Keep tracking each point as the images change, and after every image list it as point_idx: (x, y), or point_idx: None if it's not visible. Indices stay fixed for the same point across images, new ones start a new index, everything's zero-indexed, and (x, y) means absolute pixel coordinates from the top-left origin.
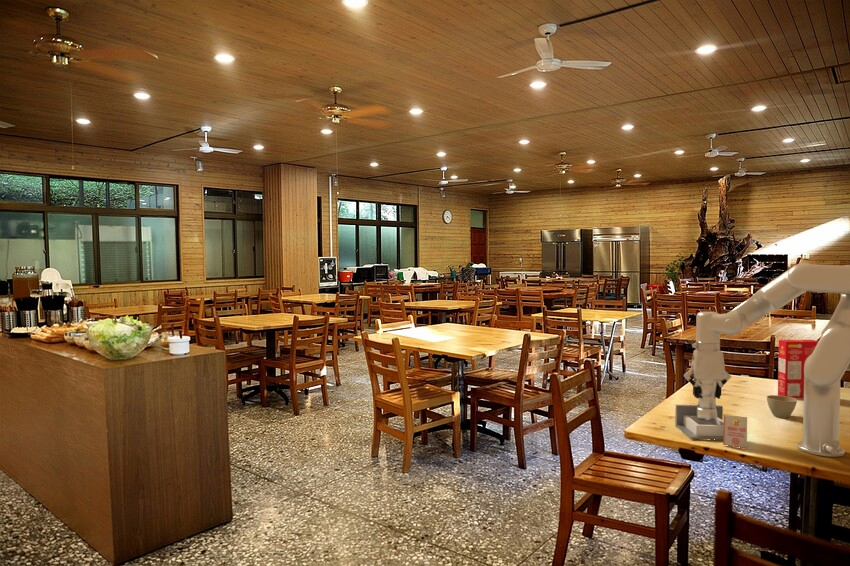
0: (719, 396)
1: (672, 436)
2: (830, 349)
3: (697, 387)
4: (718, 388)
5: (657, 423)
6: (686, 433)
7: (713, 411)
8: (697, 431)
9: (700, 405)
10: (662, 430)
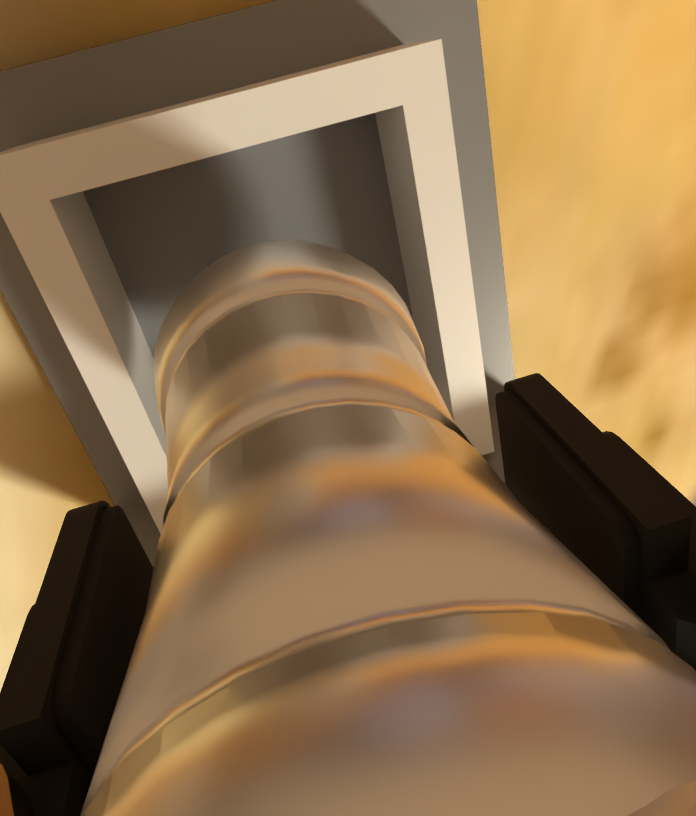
0: (75, 529)
1: (619, 53)
2: None
3: (683, 519)
4: (59, 691)
5: (629, 438)
6: (486, 125)
7: (210, 305)
8: (405, 45)
9: (417, 354)
10: (651, 245)
